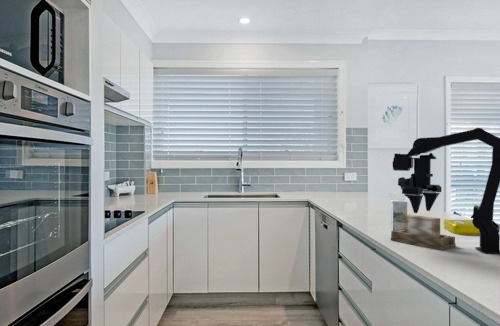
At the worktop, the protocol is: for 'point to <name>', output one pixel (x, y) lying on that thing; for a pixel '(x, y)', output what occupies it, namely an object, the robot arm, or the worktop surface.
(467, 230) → the element tile
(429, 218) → the tan box
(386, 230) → the worktop surface
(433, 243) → the walnut ledge
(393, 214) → the syrup box
